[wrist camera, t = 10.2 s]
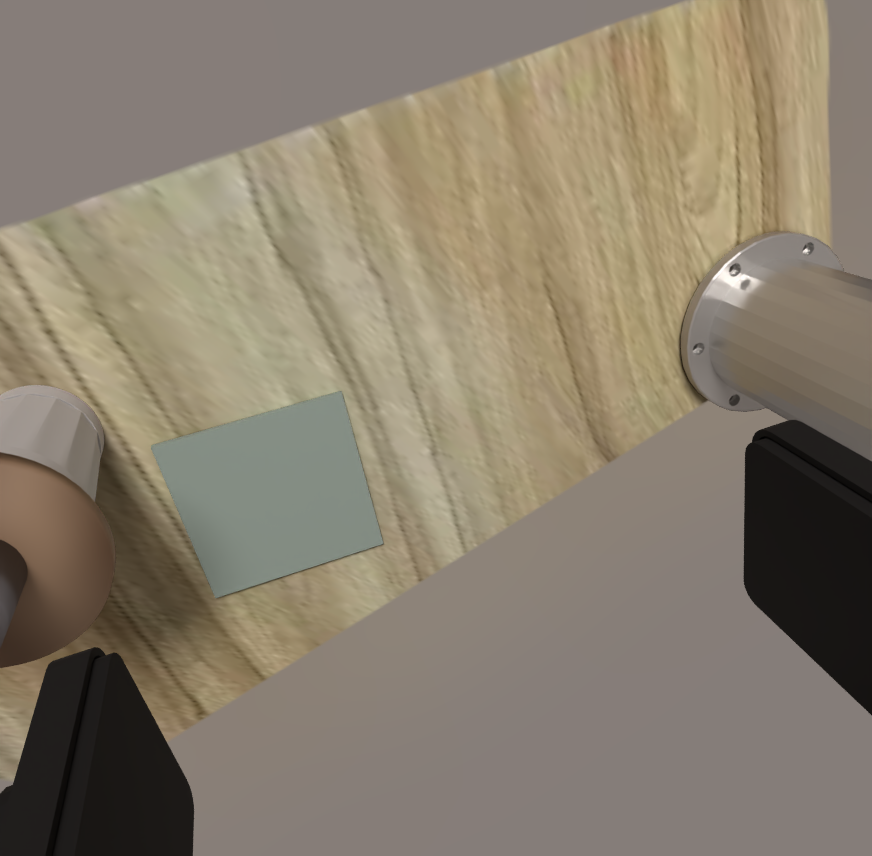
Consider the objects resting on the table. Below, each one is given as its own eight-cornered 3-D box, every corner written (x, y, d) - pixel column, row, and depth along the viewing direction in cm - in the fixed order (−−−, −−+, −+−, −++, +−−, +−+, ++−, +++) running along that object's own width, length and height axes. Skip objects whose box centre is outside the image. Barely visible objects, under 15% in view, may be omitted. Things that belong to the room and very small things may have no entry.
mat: (340, 390, 44) (341, 393, 44) (382, 540, 50) (383, 543, 49) (151, 445, 43) (150, 448, 42) (215, 594, 48) (215, 598, 48)
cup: (145, 467, 43) (123, 588, 33) (13, 520, 42) (-53, 662, 32) (73, 348, 39) (22, 443, 29) (-72, 404, 38) (-180, 523, 28)
